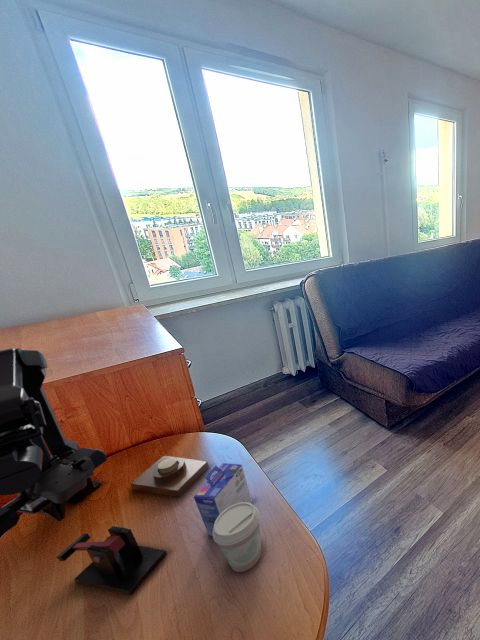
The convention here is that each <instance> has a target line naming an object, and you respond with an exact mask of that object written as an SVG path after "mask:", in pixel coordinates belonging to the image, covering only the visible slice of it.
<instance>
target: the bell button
mask: <svg viewBox="0 0 480 640" xmlns="http://www.w3.org/2000/svg"><path fill="white" fill-rule="evenodd" d="M177 466H178V463H177V460H176V459H175V458H168V459H165V460H163V461H162V462H160V463H159V465H158V469H159V472H160V473H161V474H164V473H169V472H171V471H173V470H174V469H175V468H176V467H177Z"/></svg>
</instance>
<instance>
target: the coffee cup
mask: <svg viewBox="0 0 480 640" xmlns="http://www.w3.org/2000/svg"><path fill="white" fill-rule="evenodd" d="M260 521H261V513H260V511H259V509H258V508H257V507H256V506H255V505H254V504H253V503H252V502H251V503H248V502H240V503H237V504H234V505H232V506H230V507H228V508H226V509H225V510H224V511H223V512H222V513H221V514H220V515H219V516H218V517H217V519H216V521H215V523H214V527H213V536H212V539H213V541H214V542H215V543H216V544H217V545H218V546H219V548H220V550H221V551H222V553H223V555H224V557H225V559H226V561H227V562H228V564H229V566H230V568H231V569H232V570H233V571H234V572H236V573H241V572H242V573H243V572H245V571H248V570H250V569H251V568H253V567H254V566H255V565H256V564H257V563H258V561H259V560H260V558H261V556H262V545H261V544H262V543H261V531H260V530H261V529H260Z"/></svg>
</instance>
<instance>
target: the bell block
mask: <svg viewBox="0 0 480 640" xmlns="http://www.w3.org/2000/svg"><path fill="white" fill-rule="evenodd" d="M168 458H175V459H176V460H177V463H178V466H177V467H176V468H175V469H174V470H173V471H171V472H169V473H164V474H161V473H160V472H159V469H158V465H159V463H160V462H162V461H163V460H165V459H168ZM209 468H210V467H209V463H208V461H206V460H200V459H199V460H198V459H192V458H185V457H178V456H169V455H163V456H162V457H161V458H159V459H158V460H157V461H155V462H154V463H153V464H152V465H151V466H150V467H149V468H147V469H146V470H145V471H144V472H142V473H141V474H140V475H139V476H137V477H136V478H135V479H134V480H132V481H131V482H130V486H131V488H132V490H133V491H138V492H146V493H151V494H158V495H164V496H171V497H177V498H180V497H181V496H182V495H183V494H184V493H185V492H186V491H187V490H188V489H190V487H191V486H192V485H193V484H194V483H195V482H196V481H197V480H198V479H199V478H200V477H201V476H202V475H203V474H204V473H205V472H206V471H207V470H208V469H209Z"/></svg>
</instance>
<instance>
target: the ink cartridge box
mask: <svg viewBox="0 0 480 640" xmlns="http://www.w3.org/2000/svg"><path fill="white" fill-rule="evenodd" d="M204 478H205V480H206V482H205V483H204V484H203V486H201V488H200V489H199V490H198V491H197V492H196V493H195V494H194V496H193V499H194V502H195V504H196V507H197V509H198V512H199V514H200V517H201V519H202V522H203V524H204V527H205V529H206V533H207V535H208V536H212V537H213V527H214V523H215V521H216V519H217V517H218V516H219V515H220V514H221V513H222V512H223V511H224V510H225V509H226V508H228V507H230V506H232V505H234V504H237V503H240V502H248V503H251V504H252V503H253V499H252V496H251V491H250V489H249V486H248V482H247V478H246V474H245V471H244V468H243V464H240V463H239V464H238V463H229V462H228V463H227V462H223V463H221V464H220V465H219V466H217V465H214V467H213V468H212V469H211V470H210V471H209V472H208V473H207V474H206V475H205V476H204Z"/></svg>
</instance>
